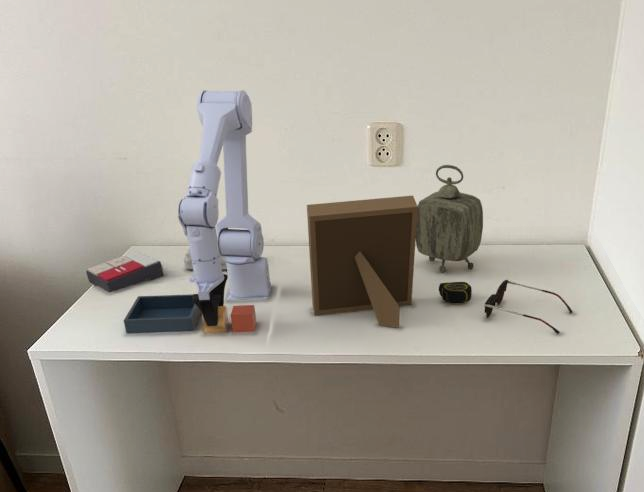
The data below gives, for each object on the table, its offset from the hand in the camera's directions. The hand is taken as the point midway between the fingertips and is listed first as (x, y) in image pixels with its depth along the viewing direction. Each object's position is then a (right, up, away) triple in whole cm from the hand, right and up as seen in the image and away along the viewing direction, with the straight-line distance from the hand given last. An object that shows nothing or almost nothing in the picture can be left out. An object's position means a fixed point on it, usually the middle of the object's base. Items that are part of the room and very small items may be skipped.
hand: (215, 317), depth 156 cm
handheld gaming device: (-6, +18, +33) cm, 38 cm away
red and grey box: (-28, +13, +27) cm, 41 cm away
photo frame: (+32, +1, +5) cm, 32 cm away
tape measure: (+52, +5, +10) cm, 53 cm away
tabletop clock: (+52, +15, +25) cm, 60 cm away
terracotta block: (+6, -2, +1) cm, 7 cm away
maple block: (0, -3, +2) cm, 3 cm away
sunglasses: (+67, 0, +2) cm, 67 cm away
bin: (-12, 0, +6) cm, 13 cm away
